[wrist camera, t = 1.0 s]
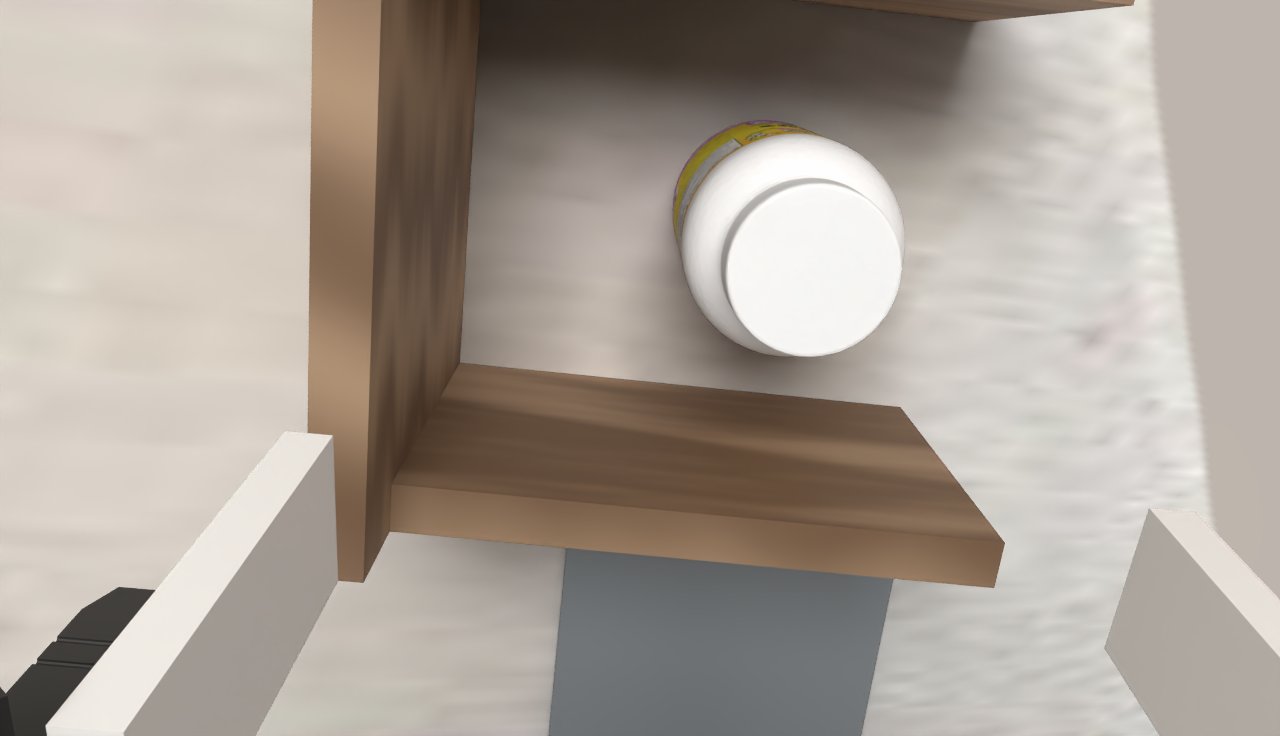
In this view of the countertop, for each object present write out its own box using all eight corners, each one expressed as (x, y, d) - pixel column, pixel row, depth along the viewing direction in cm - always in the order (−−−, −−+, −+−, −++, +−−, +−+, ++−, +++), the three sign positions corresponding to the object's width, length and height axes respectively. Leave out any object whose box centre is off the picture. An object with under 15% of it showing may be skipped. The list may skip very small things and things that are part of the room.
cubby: (893, 441, 41) (1032, 643, 27) (420, 394, 41) (305, 577, 26) (984, -22, 36) (1216, -75, 22) (442, -87, 35) (314, -185, 21)
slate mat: (847, 784, 46) (849, 789, 46) (546, 758, 46) (545, 764, 46) (904, 509, 42) (906, 513, 42) (573, 477, 42) (573, 481, 41)
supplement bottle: (879, 193, 38) (996, 256, 26) (766, 323, 40) (825, 441, 28) (747, 79, 37) (804, 89, 25) (635, 218, 39) (637, 293, 26)
